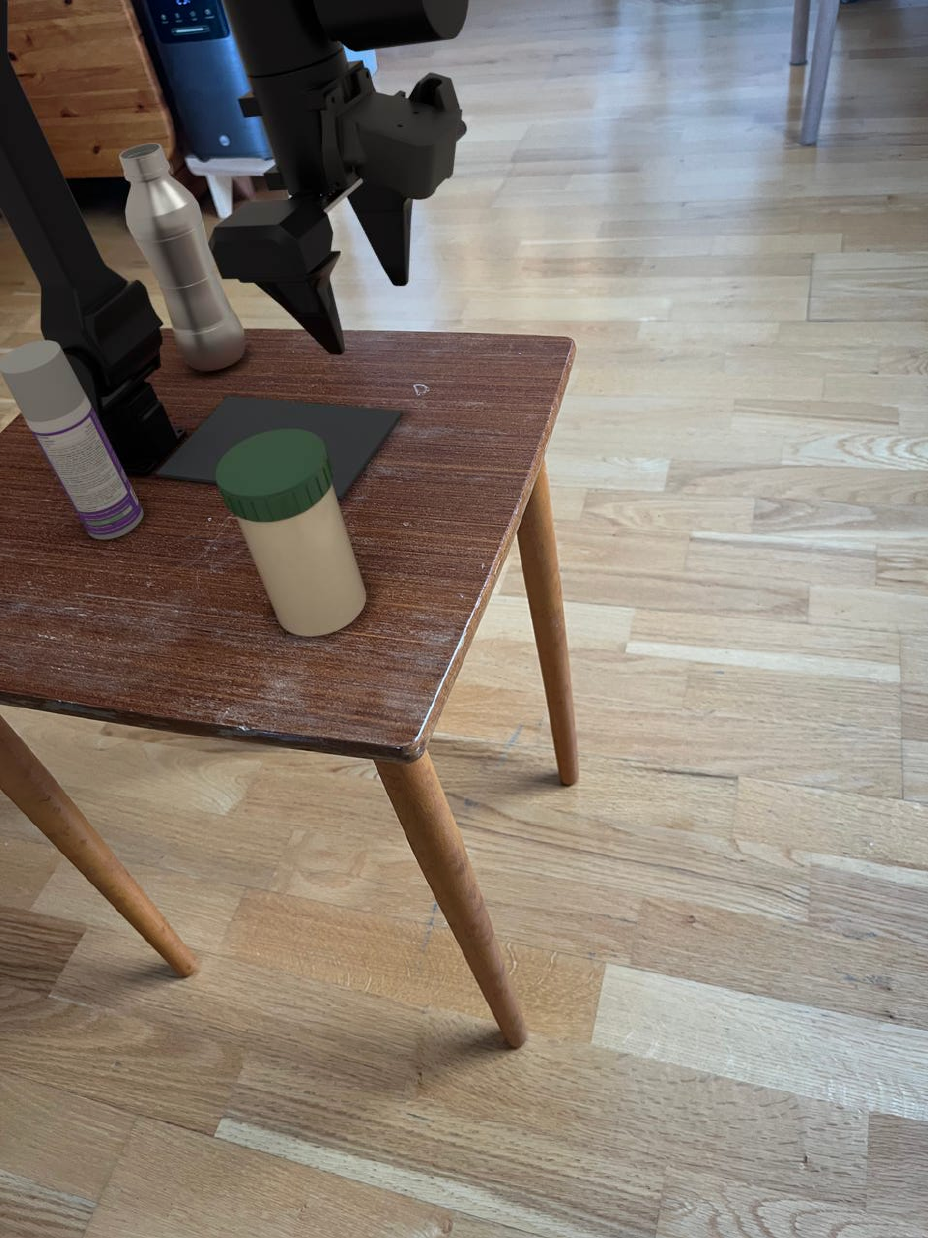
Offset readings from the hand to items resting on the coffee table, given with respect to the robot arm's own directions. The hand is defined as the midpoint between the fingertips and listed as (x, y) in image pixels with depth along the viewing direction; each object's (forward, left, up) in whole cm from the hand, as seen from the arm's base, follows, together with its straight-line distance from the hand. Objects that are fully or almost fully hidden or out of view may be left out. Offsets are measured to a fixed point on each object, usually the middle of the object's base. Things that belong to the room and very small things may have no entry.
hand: (370, 317), depth 64 cm
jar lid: (-1, -13, -3) cm, 13 cm away
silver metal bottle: (-28, +16, -15) cm, 36 cm away
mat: (-14, +4, -15) cm, 21 cm away
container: (-23, -8, -15) cm, 29 cm away
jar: (-1, -13, -15) cm, 20 cm away
